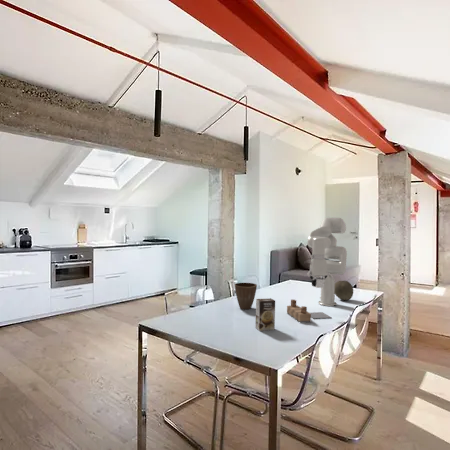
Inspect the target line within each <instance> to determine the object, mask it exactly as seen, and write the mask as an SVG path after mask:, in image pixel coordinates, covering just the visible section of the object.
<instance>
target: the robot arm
mask: <svg viewBox="0 0 450 450" xmlns="http://www.w3.org/2000/svg"><path fill="white" fill-rule="evenodd" d="M346 225H347V224H346V222H345V221H344V219H343V218H342V217H329V216H328V217H324V218H323V219H322V221H321V224H320V225H319V227H318V228H316V229H314V230H312V231H311V232H310V233H309V235H308V237H307V246H308V248H312V253H311V255H310V256H309V257H310V258H311V260H310V263H309V264H310V265H309V271H308V272H307V273H306V275H307V276H308V277H309V278H310V280H311V286H312V287H313V288H316V287H315V277H320V278H322V279H324V288H320V297H319V299H320V300H319V301H318V302H317V303H318V305H321V306H324V305H325V306H326V307H335V306H334V305H336V306H337V305H338V303H337V302H335V299H336V298H335V296H336V295H335V283H336V280H335V277H334V276H333V275H341V276H342V275H345V273H346V270H347V269H346V268H347V255H348V253H347V252H348V251H347V249H346V247H345V246H338V245H337V242H338V241H337V238H336V236H334V234H345V233H346V231H347V226H346Z"/></svg>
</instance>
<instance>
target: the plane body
mask: <svg viewBox="0 0 450 450" xmlns="http://www.w3.org/2000/svg"><path fill="white" fill-rule="evenodd" d="M307 310H308V307H307V306H303V305H302V306H301V307H300V306H299V305H297V300H296V299H290V305H287V306H286V314H287V315H288V316H289V317H291V318H292V317H293V318H292V319H294V320H295V321H296V320H297V321H296V322H298V323H299V322H306V323H311V321H312V318H311V314H310V313H311V312H309V311H307Z"/></svg>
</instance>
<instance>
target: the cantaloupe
mask: <svg viewBox="0 0 450 450" xmlns="http://www.w3.org/2000/svg"><path fill="white" fill-rule="evenodd" d="M335 296H336V297H337V298H338V299H339V300H342V301H344V300H346V301H348V300H351V299H352V298H353V296H354V288H353V285H352V284H351V282H349V281H347V280H337V281H335Z"/></svg>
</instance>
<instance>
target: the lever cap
mask: <svg viewBox="0 0 450 450" xmlns="http://www.w3.org/2000/svg"><path fill="white" fill-rule="evenodd" d="M314 288H316V289H317V288H319V289H321V288H324V279H322V278H321V276H316V277H315V287H314Z"/></svg>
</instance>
